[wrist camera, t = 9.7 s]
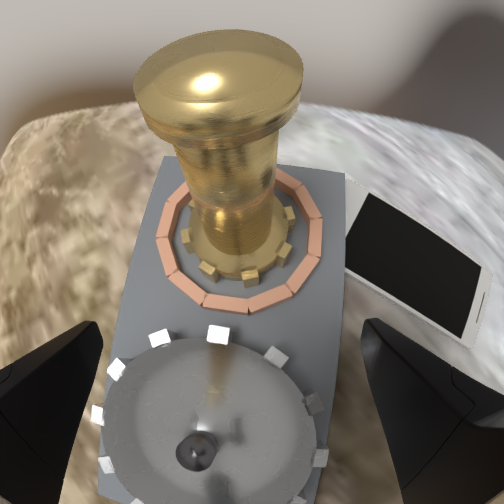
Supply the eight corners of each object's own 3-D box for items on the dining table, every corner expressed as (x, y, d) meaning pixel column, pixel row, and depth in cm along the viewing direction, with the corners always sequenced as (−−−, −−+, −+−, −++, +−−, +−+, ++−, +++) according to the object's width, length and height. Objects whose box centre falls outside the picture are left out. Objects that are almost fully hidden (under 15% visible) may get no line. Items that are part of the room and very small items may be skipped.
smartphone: (345, 183, 23) (347, 176, 22) (487, 276, 20) (494, 273, 19) (304, 253, 21) (306, 248, 20) (465, 352, 18) (472, 350, 17)
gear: (301, 533, 12) (310, 564, 8) (101, 492, 13) (72, 510, 9) (335, 343, 17) (355, 336, 13) (122, 311, 18) (92, 297, 14)
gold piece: (256, 309, 18) (254, 184, 6) (167, 252, 19) (66, 103, 7) (310, 220, 20) (361, 49, 8) (225, 176, 21) (199, 9, 9)
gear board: (302, 526, 13) (307, 543, 11) (107, 487, 14) (91, 498, 12) (340, 184, 23) (347, 165, 20) (168, 167, 24) (161, 148, 21)
